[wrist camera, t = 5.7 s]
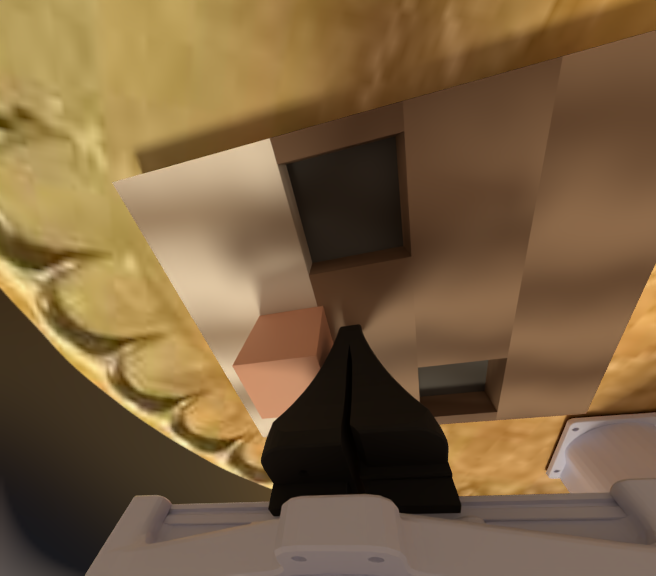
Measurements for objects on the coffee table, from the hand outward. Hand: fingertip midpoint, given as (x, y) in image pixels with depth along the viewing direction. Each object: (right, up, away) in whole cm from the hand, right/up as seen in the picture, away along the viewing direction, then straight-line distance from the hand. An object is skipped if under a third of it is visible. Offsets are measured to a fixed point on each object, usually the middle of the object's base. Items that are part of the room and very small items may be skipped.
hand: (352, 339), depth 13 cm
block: (-3, 0, +1) cm, 4 cm away
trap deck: (+3, +2, +2) cm, 4 cm away
